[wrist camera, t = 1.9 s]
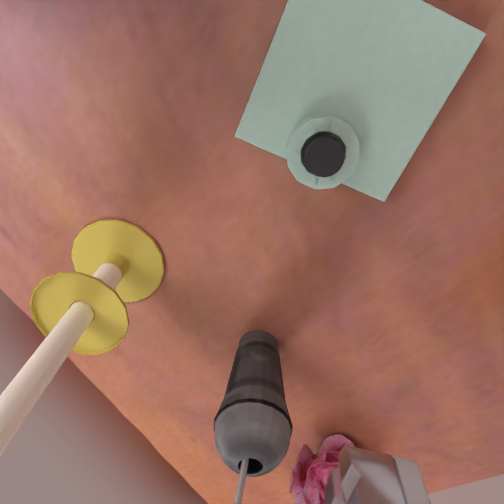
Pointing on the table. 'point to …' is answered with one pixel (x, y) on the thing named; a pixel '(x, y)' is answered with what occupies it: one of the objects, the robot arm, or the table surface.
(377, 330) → the table surface
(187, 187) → the table surface
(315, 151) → the button
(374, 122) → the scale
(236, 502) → the beverage cup
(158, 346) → the table surface
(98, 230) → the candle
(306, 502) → the flower
